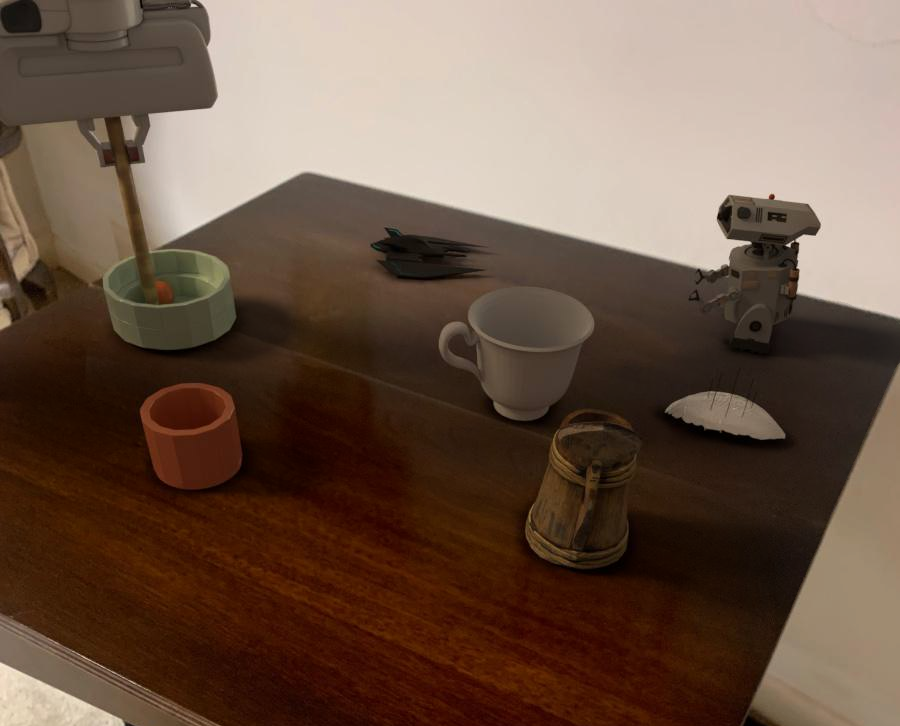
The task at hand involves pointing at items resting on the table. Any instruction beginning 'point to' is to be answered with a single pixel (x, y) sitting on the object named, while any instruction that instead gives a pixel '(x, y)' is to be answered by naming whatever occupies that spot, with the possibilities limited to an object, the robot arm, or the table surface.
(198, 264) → the bowl
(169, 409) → the holder
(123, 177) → the stirring stick
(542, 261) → the table surface
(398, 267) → the black starfighter
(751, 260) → the figurine
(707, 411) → the pincushion
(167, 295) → the bead
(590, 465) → the wooden mug
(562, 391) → the teacup
